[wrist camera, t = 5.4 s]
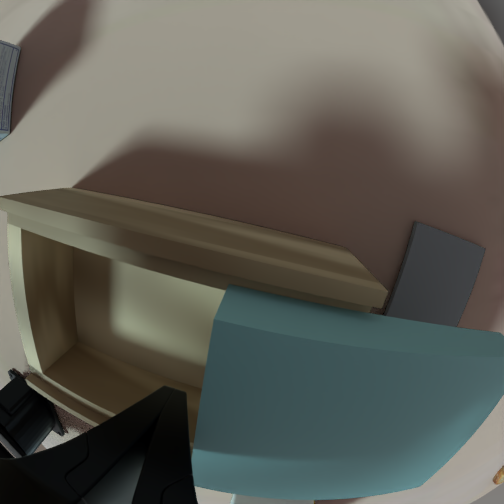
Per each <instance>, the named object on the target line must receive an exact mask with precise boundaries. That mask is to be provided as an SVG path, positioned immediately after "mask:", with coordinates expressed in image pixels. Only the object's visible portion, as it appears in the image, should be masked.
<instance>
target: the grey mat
mask: <svg viewBox="0 0 504 504" xmlns="http://www.w3.org/2000/svg"><path fill="white" fill-rule="evenodd" d="M484 253H485V248H483V247H480V246H478V245H476V244H473V243H471V242H468V241H466V240H464V239H461V238H459V237H456V236H454V235H451V234H449V233H446V232H443V231H441V230H438V229H435V228H433V227H430V226H427V225H425V224H422V223H419V222H416V221H415V223H414V227H413V230H412V234H411V238H410V241H409V244H408V248H407V251H406V254H405V257H404V261H403V264H402V267H401V270H400V273H399V275H398V278H397V281H396V284H395V287H394V289H393V292H392V295H391V297H390V300H389V303H388V305H387V308H386V310H385V313H384V315H383V316H389V317H395V318H400V319H406V320H413V321H419V322H425V323H432V324H438V325H445V326H452V327H457V325H458V322H459V320H460V318H461V316H462V313H463V311H464V309H465V306H466V304H467V302H468V299H469V297H470V294H471V291H472V289H473V286H474V283H475V280H476V278H477V275H478V272H479V269H480V266H481V262H482V259H483V256H484Z"/></svg>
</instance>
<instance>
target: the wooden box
mask: <svg viewBox="0 0 504 504" xmlns="http://www.w3.org/2000/svg"><path fill="white" fill-rule="evenodd" d="M0 210H3V211H6V212H7V235H8V256H9V268H10V278H11V286H12V293H13V300H14V306H15V311H16V316H17V321H18V326H19V331H20V335H21V339H22V343H23V347H24V350H25V354H26V357H27V361H28V364H29V367H30V370H31V374H30V375H29V376H27V377H26V378H25V379H26V382H27V384H28V385H29V386H30V387H31V388H33V389H34V390H35V391H37V392H38V393H40V394H41V395H43V396H44V397H45V398H47V399H48V400H50V401H51V402H53V403H54V404H56V405H58V406H59V407H61V408H62V409H64V410H66V411H67V412H69V413H71V414H72V415H74V416H76V417H77V418H79V419H81V420H83V421H85V422H86V423H88V424H90V425H92V426H94V427H96V426H97V425H99V424H101V423H103V422H104V421H106V420H108V419H110V418H111V417H113V416H115V415H116V414H118V413H120V412H122V411H123V410H125V409H127V408H128V407H130V406H132V405H133V404H135V403H136V402H138V401H140V400H141V399H143V398H145V397H146V396H148V395H149V394H151V393H152V392H154V391H156V390H157V389H159V388H160V387H162V386H164V385H167V386H170V387H173V388H175V389H179V390H182V391H185V392H186V393H187V407H188V424H189V438H190V450H191V460H192V453H193V445H194V438H195V431H196V425H197V418H198V411H199V405H200V398H201V392H202V386H203V379H204V373H205V367H206V361H207V355H208V349H209V343H210V338H211V332H212V326H213V321H214V317H215V315H216V313H217V310H218V308H219V306H220V303H221V301H222V299H223V296H224V294H225V292H226V289H227V287H228V285H229V284H232V285H236V286H241V287H245V288H249V289H254V290H258V291H263V292H267V293H272V294H276V295H281V296H286V297H290V298H295V299H300V300H305V301H309V302H314V303H319V304H324V305H329V306H334V307H339V308H345V309H350V310H355V311H361V312H366V313H370V311H371V309H372V307H375V308H380V309H382V307H383V304H384V302H385V299H386V296H387V294H388V291H387V290H386V289H385V288H384V286H383V285H382V284H381V283H380V282H379V281H378V280H377V279H376V278H375V277H374V276H373V275H372V274H371V273H370V272H369V271H368V270H367V269H366V268H365V267H364V266H363V265H362V264H361V263H360V262H359V261H358V260H357V259H356V258H355V257H354V256H353V255H352V254H351V253H350V252H349V251H348V250H347V249H346V248H345V247H342V246H338V245H334V244H330V243H326V242H322V241H318V240H314V239H310V238H306V237H302V236H298V235H294V234H290V233H285V232H281V231H277V230H273V229H269V228H264V227H260V226H256V225H252V224H247V223H243V222H238V221H234V220H230V219H225V218H221V217H216V216H212V215H207V214H203V213H198V212H193V211H189V210H184V209H179V208H174V207H170V206H165V205H160V204H155V203H150V202H145V201H140V200H135V199H130V198H125V197H120V196H114V195H109V194H104V193H98V192H93V191H87V190H82V189H76V188H61V189H51V190H42V191H34V192H26V193H19V194H12V195H5V196H0Z"/></svg>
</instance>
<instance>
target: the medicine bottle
mask: <svg viewBox="0 0 504 504" xmlns="http://www.w3.org/2000/svg"><path fill="white" fill-rule="evenodd" d="M230 504H315V500H288V499H272V498H261V497H252V496H245V495H238V494H233V497H232V500H231V503H230Z"/></svg>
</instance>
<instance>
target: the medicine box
mask: <svg viewBox="0 0 504 504" xmlns="http://www.w3.org/2000/svg"><path fill="white" fill-rule="evenodd" d="M20 50H21V47H19V46H17V45H14V44H11V43H8V42H5V41H2V40H0V141H1V140H2V139H3V138H5V137H6V136H7V135H9V133H10V118H11V105H12V95H13V87H14V80H15V74H16V68H17V63H18V58H19V53H20Z"/></svg>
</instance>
